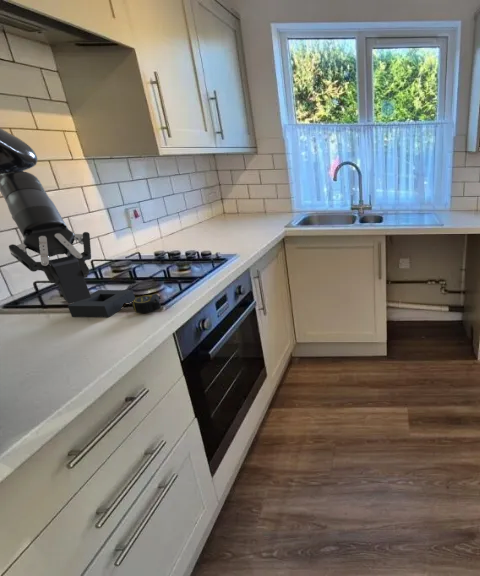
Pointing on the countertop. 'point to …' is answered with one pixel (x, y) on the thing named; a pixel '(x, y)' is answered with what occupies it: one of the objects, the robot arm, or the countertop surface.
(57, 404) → the countertop surface
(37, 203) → the robot arm
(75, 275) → the pad post
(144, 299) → the tape measure
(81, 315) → the base pad
